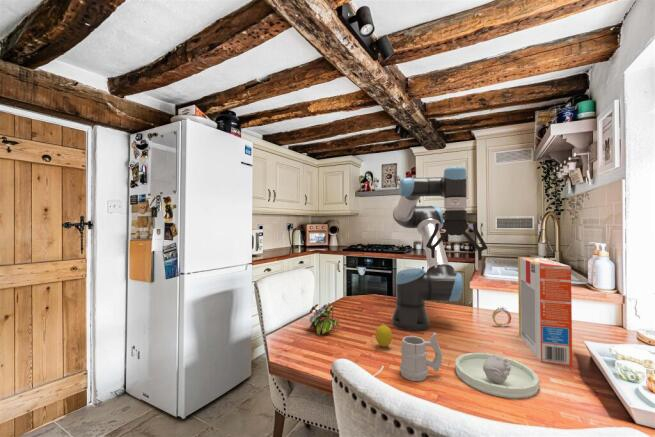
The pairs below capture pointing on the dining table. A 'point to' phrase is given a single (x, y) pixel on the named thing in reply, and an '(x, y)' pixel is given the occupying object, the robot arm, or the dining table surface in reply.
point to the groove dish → (515, 386)
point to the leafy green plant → (327, 322)
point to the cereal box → (545, 309)
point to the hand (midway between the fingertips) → (455, 268)
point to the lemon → (383, 335)
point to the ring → (498, 312)
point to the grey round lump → (497, 368)
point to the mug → (418, 357)
